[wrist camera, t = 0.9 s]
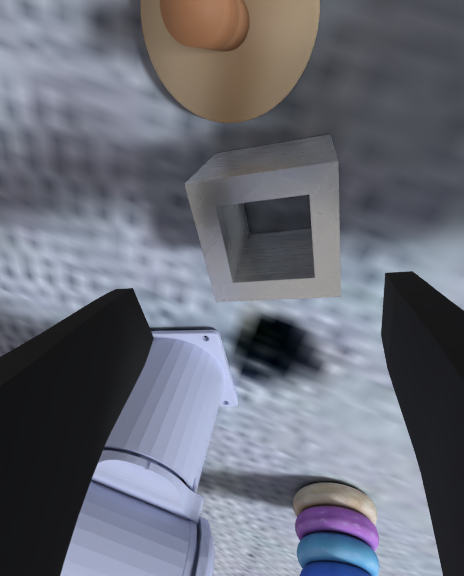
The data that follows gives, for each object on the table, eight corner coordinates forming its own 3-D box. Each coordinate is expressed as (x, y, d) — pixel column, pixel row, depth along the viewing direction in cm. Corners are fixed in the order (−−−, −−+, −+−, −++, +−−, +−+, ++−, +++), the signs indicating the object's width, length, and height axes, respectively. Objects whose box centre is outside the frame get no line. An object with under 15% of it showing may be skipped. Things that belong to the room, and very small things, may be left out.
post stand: (175, 132, 16) (124, 159, 12) (123, -67, 12) (20, -139, 8) (323, 104, 14) (330, 123, 10) (314, -141, 11) (318, -289, 6)
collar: (235, 251, 19) (216, 302, 15) (215, 153, 16) (184, 183, 12) (333, 243, 18) (340, 296, 14) (330, 133, 15) (338, 160, 11)
